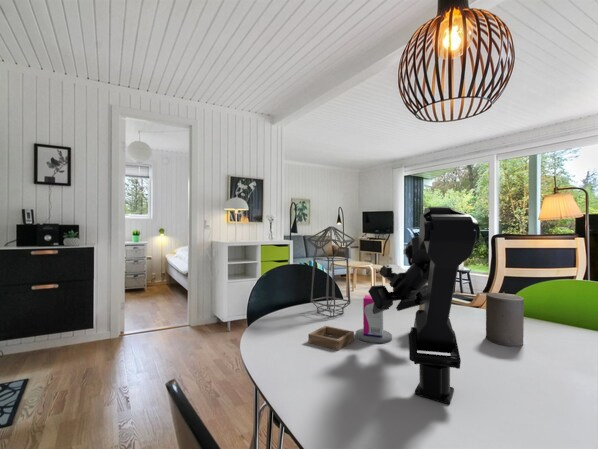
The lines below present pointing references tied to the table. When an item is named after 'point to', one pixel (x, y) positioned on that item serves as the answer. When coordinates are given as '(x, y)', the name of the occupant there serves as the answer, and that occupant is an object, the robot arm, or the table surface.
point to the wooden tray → (320, 339)
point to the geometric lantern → (332, 267)
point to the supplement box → (371, 319)
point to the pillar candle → (504, 319)
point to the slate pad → (386, 337)
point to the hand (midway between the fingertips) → (385, 311)
